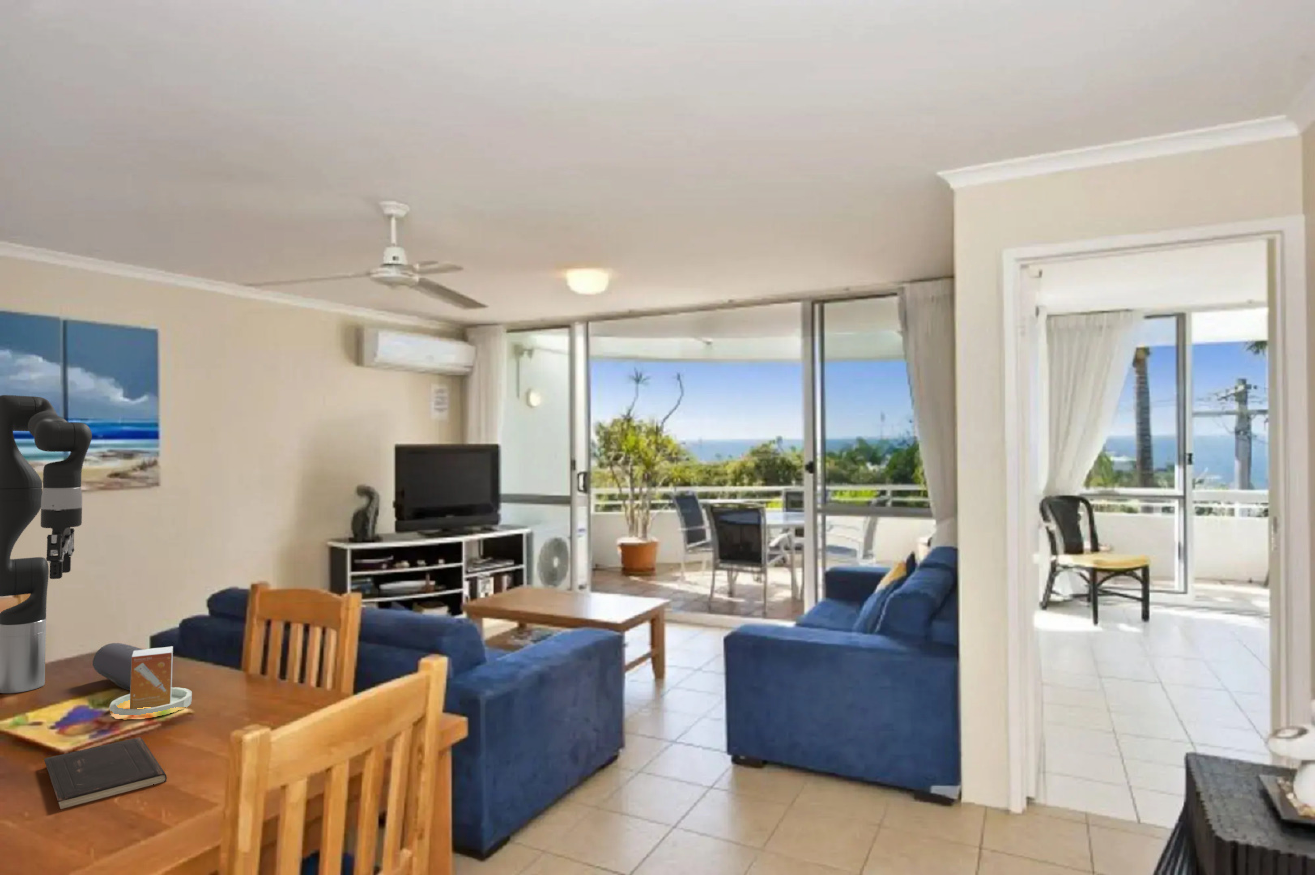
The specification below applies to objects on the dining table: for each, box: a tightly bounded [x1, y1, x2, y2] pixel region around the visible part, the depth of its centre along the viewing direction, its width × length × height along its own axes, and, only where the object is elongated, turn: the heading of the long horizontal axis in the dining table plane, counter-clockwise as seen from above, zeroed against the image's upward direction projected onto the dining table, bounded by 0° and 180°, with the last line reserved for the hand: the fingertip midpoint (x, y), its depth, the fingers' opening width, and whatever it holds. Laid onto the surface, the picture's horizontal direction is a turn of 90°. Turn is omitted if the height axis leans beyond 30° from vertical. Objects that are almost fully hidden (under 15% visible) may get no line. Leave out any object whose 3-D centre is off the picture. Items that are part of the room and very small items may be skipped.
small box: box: [129, 645, 174, 709], centre depth 175 cm, size 8×6×13 cm
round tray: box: [109, 686, 193, 715], centre depth 176 cm, size 16×16×2 cm
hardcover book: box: [43, 736, 168, 810], centre depth 141 cm, size 16×23×2 cm
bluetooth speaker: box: [92, 642, 143, 691], centre depth 191 cm, size 23×9×10 cm, turn 58°
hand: (60, 575), depth 172 cm, fingers open, 8 cm apart
